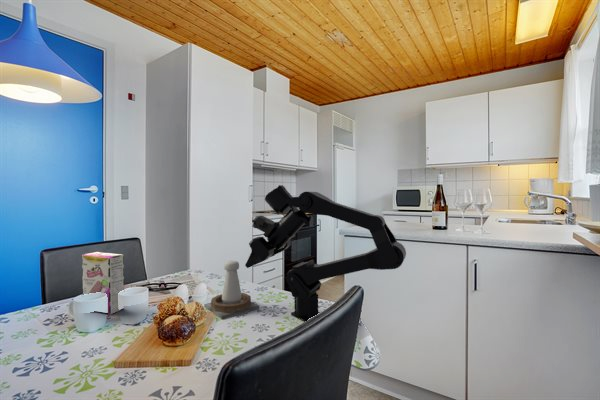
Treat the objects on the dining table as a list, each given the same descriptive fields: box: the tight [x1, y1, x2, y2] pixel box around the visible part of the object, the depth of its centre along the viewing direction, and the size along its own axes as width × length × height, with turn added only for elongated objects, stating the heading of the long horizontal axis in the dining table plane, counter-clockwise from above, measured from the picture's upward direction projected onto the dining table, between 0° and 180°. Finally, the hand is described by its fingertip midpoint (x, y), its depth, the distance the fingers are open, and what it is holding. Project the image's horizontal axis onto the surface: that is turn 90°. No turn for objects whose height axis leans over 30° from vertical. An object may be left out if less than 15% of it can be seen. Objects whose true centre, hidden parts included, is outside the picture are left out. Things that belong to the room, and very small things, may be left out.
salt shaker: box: [221, 260, 242, 305], centre depth 89 cm, size 6×6×13 cm
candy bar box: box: [81, 251, 125, 316], centre depth 87 cm, size 11×5×16 cm, turn 71°
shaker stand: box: [203, 292, 260, 320], centre depth 89 cm, size 12×12×3 cm
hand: (253, 262), depth 88 cm, fingers open, 9 cm apart
